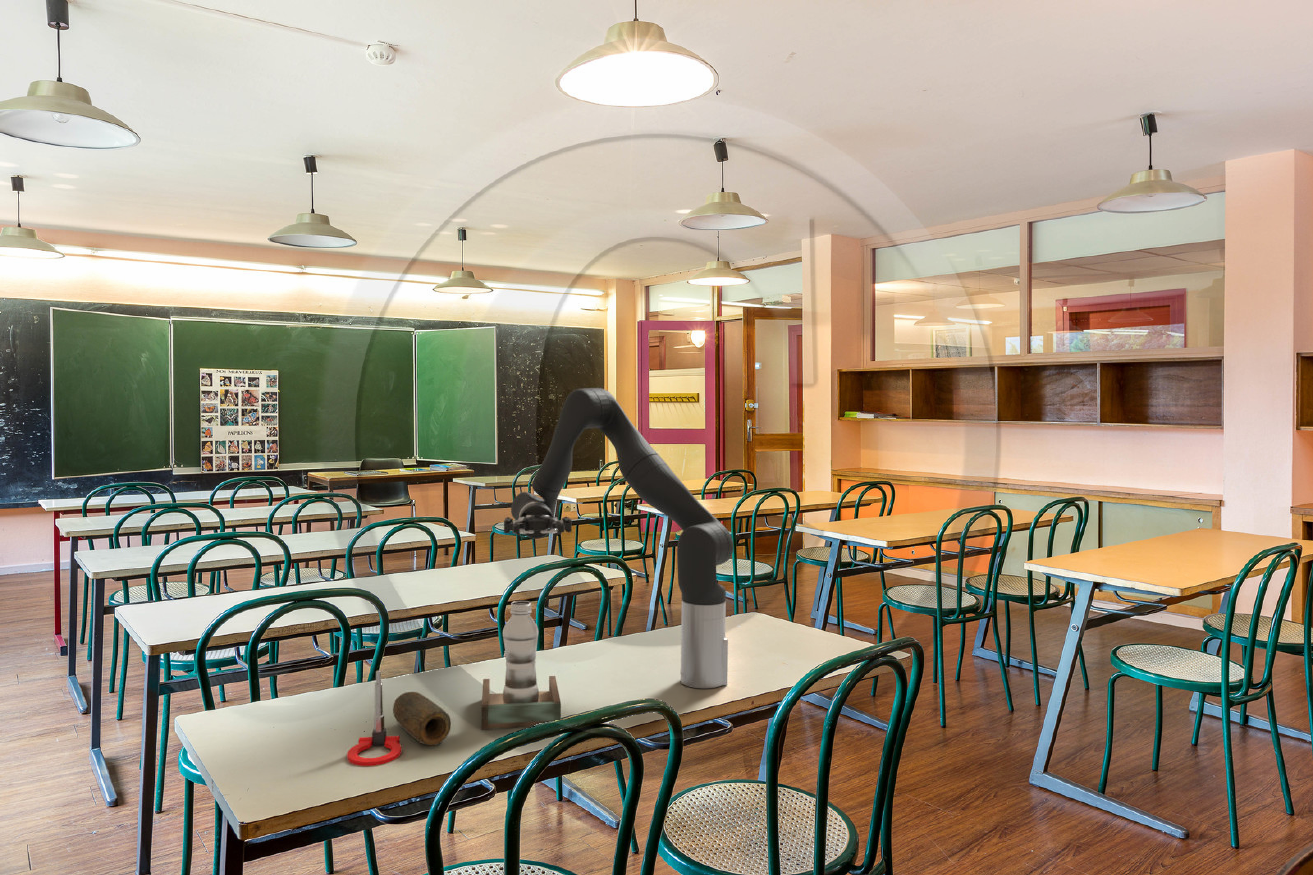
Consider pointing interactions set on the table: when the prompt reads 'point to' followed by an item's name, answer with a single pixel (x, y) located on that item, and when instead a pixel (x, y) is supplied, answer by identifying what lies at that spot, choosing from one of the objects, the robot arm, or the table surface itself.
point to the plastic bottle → (520, 655)
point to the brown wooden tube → (422, 718)
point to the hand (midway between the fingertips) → (539, 529)
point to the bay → (519, 709)
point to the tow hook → (376, 736)
